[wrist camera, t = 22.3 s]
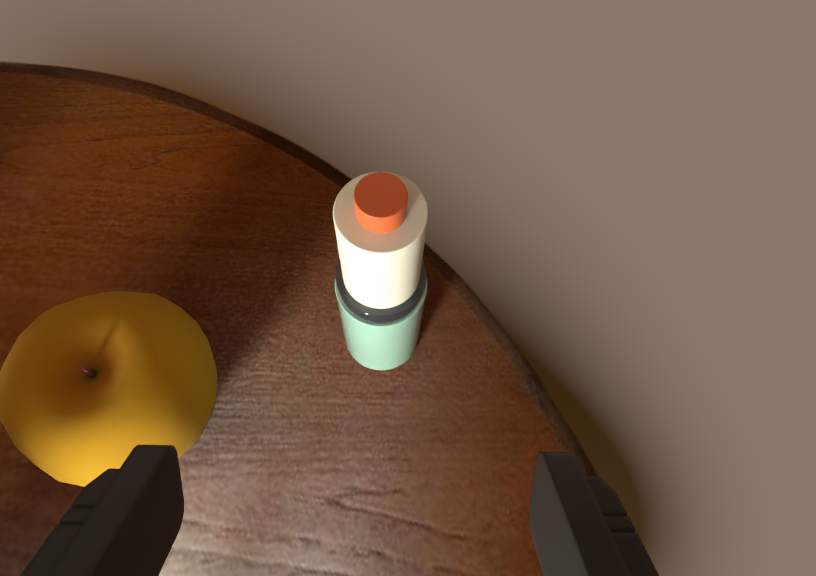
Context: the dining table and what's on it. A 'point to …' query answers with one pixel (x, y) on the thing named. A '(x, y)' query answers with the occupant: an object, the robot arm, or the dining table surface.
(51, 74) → the dining table surface
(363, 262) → the cream bottle
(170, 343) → the apple
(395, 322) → the celadon jar
